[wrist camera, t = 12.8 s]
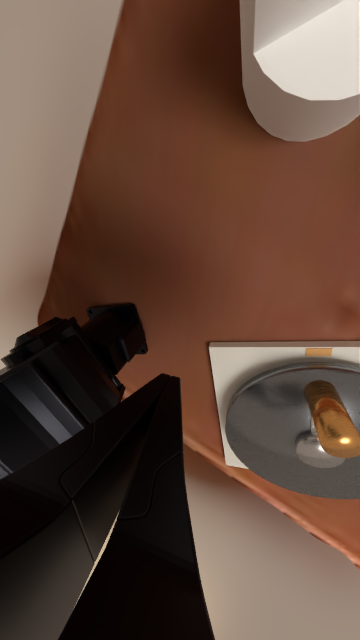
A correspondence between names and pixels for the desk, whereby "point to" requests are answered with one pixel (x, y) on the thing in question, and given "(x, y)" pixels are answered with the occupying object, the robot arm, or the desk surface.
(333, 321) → the desk surface
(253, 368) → the wheel base
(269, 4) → the base with upright slab
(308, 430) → the handwheel
